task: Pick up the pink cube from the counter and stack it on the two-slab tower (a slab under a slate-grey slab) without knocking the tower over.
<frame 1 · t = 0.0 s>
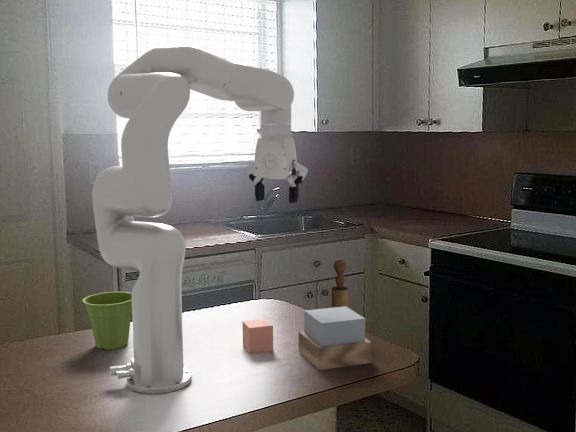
hand: (276, 201, 165), 31 cm above the worktop, tool pointing down, fingers open, 9 cm apart
upper block: (334, 336, 144), point 5 cm above the worktop, touching lower block
plant pot: (111, 346, 153), on the worktop
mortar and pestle: (339, 333, 161), on the worktop
lower block: (334, 358, 144), on the worktop, touching upper block
pink cube: (257, 348, 150), on the worktop
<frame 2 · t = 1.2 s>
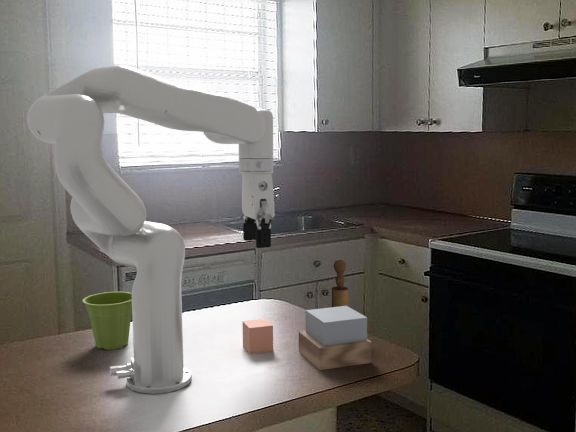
hand: (256, 243, 147), 24 cm above the worktop, tool pointing down, fingers open, 9 cm apart
upper block: (335, 336, 144), point 5 cm above the worktop
lower block: (334, 358, 144), on the worktop
everything else where it was.
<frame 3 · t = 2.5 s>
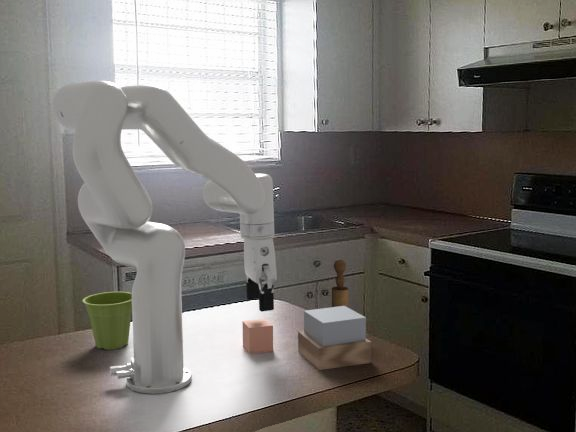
hand: (260, 304, 149), 10 cm above the worktop, tool pointing down, fingers open, 9 cm apart
upper block: (334, 336, 144), point 5 cm above the worktop, touching lower block
lower block: (333, 358, 144), on the worktop, touching upper block
everything else where it was.
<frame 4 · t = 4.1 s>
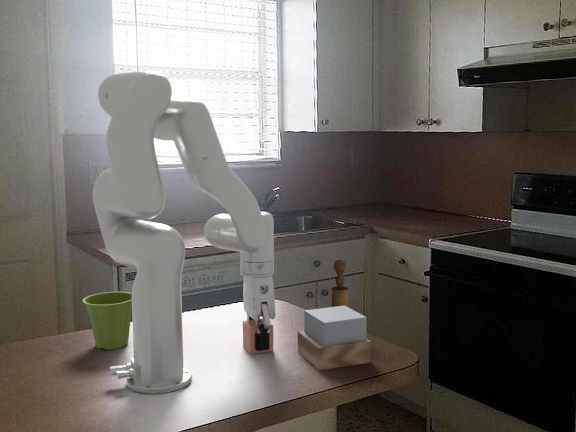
hand: (258, 344, 150), 1 cm above the worktop, tool pointing down, fingers closed on pink cube, 5 cm apart
pink cube: (258, 348, 150), on the worktop, touching gripper
everything else where it was.
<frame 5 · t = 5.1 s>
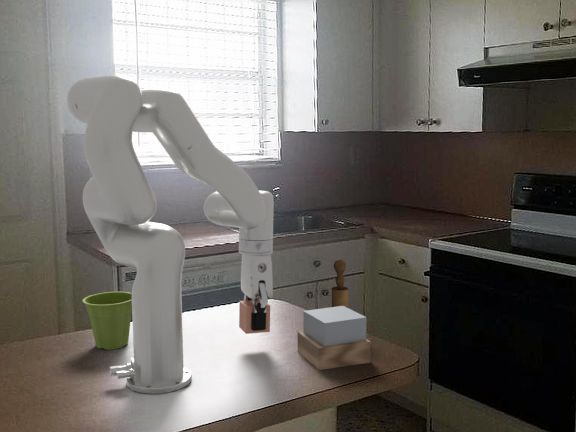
hand: (254, 325, 148), 6 cm above the worktop, tool pointing down, fingers closed on pink cube, 5 cm apart
pink cube: (254, 329, 149), point 5 cm above the worktop, touching gripper
everything else where it was.
when the fingers open (12 cm above the worktop, at t = 9.3 s): pink cube drops 1 cm, resting on upper block.
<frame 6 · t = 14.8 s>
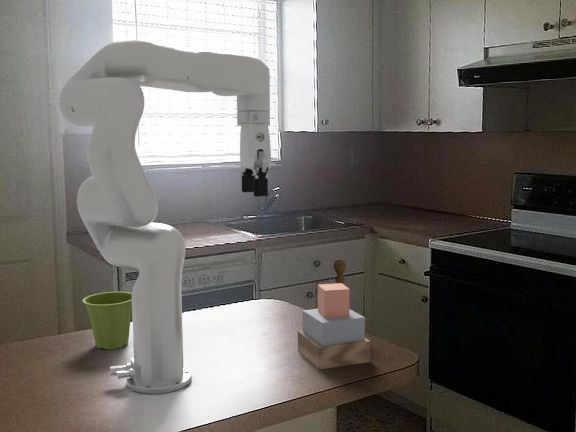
hand: (254, 194, 153), 34 cm above the worktop, tool pointing down, fingers open, 9 cm apart
upper block: (333, 336, 144), point 5 cm above the worktop, touching lower block, pink cube
pink cube: (333, 313, 143), point 10 cm above the worktop, touching upper block
everything else where it was.
at the end: pink cube 0.1 cm off-centre on the upper block, point 5.0 cm above the upper block's base; upper block 0.1 cm off-centre on the lower block, point 5.0 cm above the lower block's base; pink cube tilted 0° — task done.
